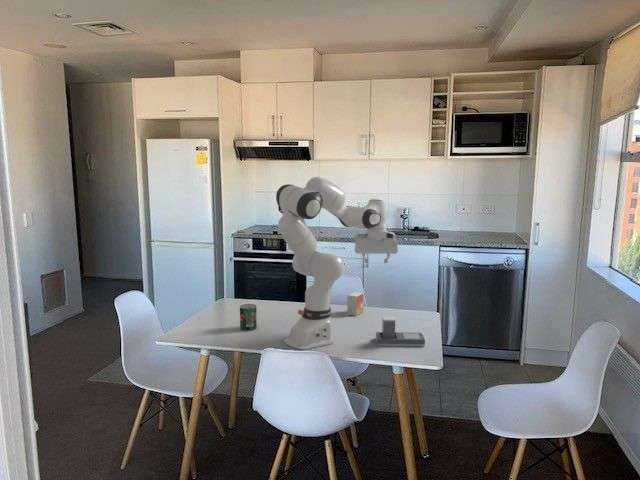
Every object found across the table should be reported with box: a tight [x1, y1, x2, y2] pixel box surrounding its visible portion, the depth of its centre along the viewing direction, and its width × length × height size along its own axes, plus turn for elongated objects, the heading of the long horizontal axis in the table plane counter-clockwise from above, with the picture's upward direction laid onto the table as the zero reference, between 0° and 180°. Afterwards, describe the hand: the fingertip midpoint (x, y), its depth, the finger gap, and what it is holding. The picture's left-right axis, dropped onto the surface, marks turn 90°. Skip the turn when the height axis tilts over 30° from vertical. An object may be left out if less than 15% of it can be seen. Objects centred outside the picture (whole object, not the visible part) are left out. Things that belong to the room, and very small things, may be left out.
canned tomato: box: [239, 303, 258, 332], centre depth 231 cm, size 8×8×11 cm
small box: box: [346, 291, 364, 317], centre depth 255 cm, size 8×6×10 cm
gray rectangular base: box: [375, 331, 426, 347], centre depth 212 cm, size 20×9×4 cm, turn 88°
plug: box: [381, 315, 396, 339], centre depth 212 cm, size 5×5×10 cm
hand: (375, 262), depth 231 cm, fingers open, 8 cm apart
